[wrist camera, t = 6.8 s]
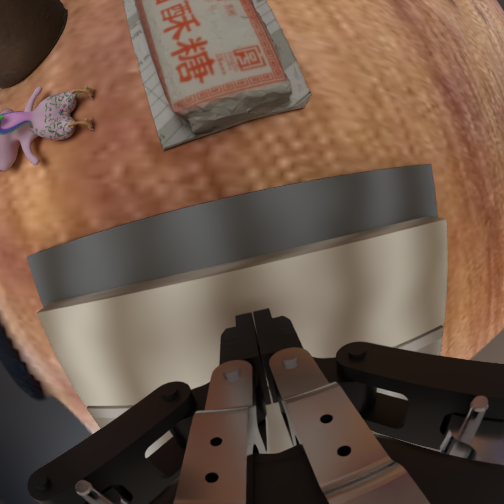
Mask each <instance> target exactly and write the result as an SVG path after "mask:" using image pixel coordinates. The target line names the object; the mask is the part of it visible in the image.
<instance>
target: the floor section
mask: <svg viewBox="0 0 504 504" xmlns="http://www.w3.org/2000/svg"><path fill="white" fill-rule="evenodd" d="M426 216H432V217H438V214H437V203H436V195H435V187H434V179H433V173H432V167H431V164H424V165H414V166H405V167H397V168H389V169H381V170H374V171H367V172H360V173H353V174H347V175H341V176H334V177H328V178H322V179H317V180H311V181H305V182H300V183H295V184H289V185H284V186H279V187H274V188H269V189H264V190H259V191H255V192H250V193H245V194H241V195H236V196H232V197H227V198H223V199H219V200H214V201H210V202H206V203H202V204H198V205H194V206H190V207H186V208H182V209H178V210H174V211H170V212H167V213H163V214H159V215H155V216H152V217H148V218H145V219H141V220H138V221H134V222H131V223H127V224H124V225H120V226H117V227H114V228H110V229H107V230H104V231H101V232H97V233H94V234H91V235H88V236H85V237H82V238H79V239H76V240H73V241H70V242H67V243H64V244H61V245H58V246H55V247H52V248H49V249H46V250H44V251H41V252H38V253H36V254H33V255H30V256H28V257H27V259H28V262H29V266H30V269H31V273H32V276H33V279H34V282H35V285H36V288H37V291H38V293H39V296H40V299H41V302H42V304H43V307H45V306H47V305H48V304H50V303H51V302H56V301H60V300H65V299H69V298H74V297H78V296H83V295H88V294H92V293H97V292H101V291H106V290H110V289H115V288H119V287H124V286H128V285H133V284H137V283H142V282H146V281H150V280H155V279H159V278H164V277H168V276H173V275H177V274H182V273H186V272H190V271H195V270H199V269H204V268H208V267H212V266H217V265H221V264H225V263H230V262H234V261H239V260H243V259H247V258H252V257H256V256H260V255H265V254H269V253H273V252H278V251H282V250H286V249H291V248H295V247H299V246H303V245H308V244H312V243H316V242H321V241H325V240H329V239H333V238H338V237H342V236H346V235H350V234H355V233H359V232H363V231H367V230H372V229H376V228H380V227H384V226H388V225H393V224H397V223H401V222H405V221H409V220H414V219H418V218H422V217H426ZM443 329H444V327H443V326H442V325H440V326H438V327H436V328H434V329H432V330H430V331H428V332H426V333H424V334H422V335H419V336H417V337H415V338H413V339H411V340H408V341H406V342H404V343H401V344H399V345H397V346H394V347H393V348H398V349H404V350H409V351H415V352H420V353H426V354H432V355H438V356H440V350H441V344H442V336H443ZM268 388H269V386H268ZM377 392H378V393H382V394H385V395H389V396H393V397H397V398H401V399H405V400H408V399H407V398H406V397H405V396H404V395H402V394H400V393H396V392H392V391H388V390H384V389H380V388H377ZM269 393H270V398H271V403H272V404H269V405H266V409H267V415H266V416H267V420H268V432H269V448H270V454H274V453H280V452H282V451H285V450H287V449H289V448H291V447H292V444H291V441H290V438H289V436H288V433H287V430H286V427H285V424H284V422H283V419H282V415H281V411H280V407H279V403H273V400H272V396H271V392H270V388H269ZM132 406H134V405H124V406H88V407H87V409H88V411H89V412H90V414H91V415H92V417H93V418H94V420H95V421H96V422H97V424H98V425H99V427H100V428H103V427H104V426H106V425H107V424H108V423H110V422H111V421H113V420H114V419H116V418H117V417H118V416H120V415H121V414H123V413H124V412H125V411H127V410H128V409H130V408H131V407H132ZM172 437H173V436H172V434H171V433H170V431H168V432H167V433H165V434H164V435H163V436H162V437H161V438H159V439H158V440H157V441H156V442H154V443H153V444H152V445H151V446H150V447H148V449H147V450H146V452H145V458H147V457H149V456H150V455H151V454H152V453H154V452H155V451H156V450H157V449H159V448H160V447H161V446H162V445H163V444H165V443H166V442H167V441H168V440H169V439H170V438H172Z"/></svg>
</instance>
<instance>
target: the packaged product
mask: <svg viewBox="0 0 504 504" xmlns="http://www.w3.org/2000/svg"><path fill="white" fill-rule="evenodd" d="M123 1H124V6H125V12H126V16H127V21H128V25H129V29H130V33H131V38H132V43H133V47H134V50H135V53H136V55H137V58H138V60H139V62H138V65H139V68H140V72H141V77H142V81H143V84H144V87H145V91H146V94H147V97H148V101H149V104H150V108H151V112H152V115H153V119H154V121H155V124H156V128H157V132H158V135H159V138H160V142H161V145H162V148H163V150H165V149H168V148H171V147H174V146H176V145H179V144H182V143H185V142H188V141H191V140H194V139H197V138H200V137H203V136H206V135H209V134H212V133H216V132H219V131H221V130H224V129H227V128H229V127H232V126H235V125H238V124H240V123H243V122H246V121H249V120H253V119H257V118H261V117H265V116H269V115H273V114H278V113H282V112H286V111H290V110H295V109H300V108H304V107H305V105H306V104H307V102H308V100H309V98H310V96H311V95H312V94H311V92H310V90H309V88H308V87H307V85H306V82H305V78H304V76H303V75H302V72H301V70H300V67H299V65H298V62H297V60H296V58H295V56H294V54H293V52H292V50H291V48H290V46H289V43H288V41H287V39H286V38H285V36H284V34H283V31H282V29H281V28H280V25H279V23H278V21H277V20H276V18H275V15H274V13H273V11H272V9H271V7H270V6H269V5H268V3H267V1H266V0H123Z"/></svg>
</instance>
